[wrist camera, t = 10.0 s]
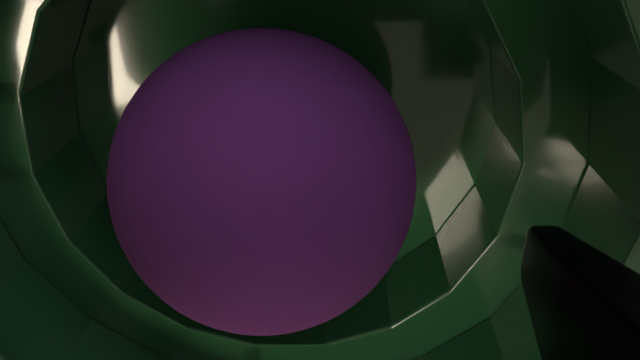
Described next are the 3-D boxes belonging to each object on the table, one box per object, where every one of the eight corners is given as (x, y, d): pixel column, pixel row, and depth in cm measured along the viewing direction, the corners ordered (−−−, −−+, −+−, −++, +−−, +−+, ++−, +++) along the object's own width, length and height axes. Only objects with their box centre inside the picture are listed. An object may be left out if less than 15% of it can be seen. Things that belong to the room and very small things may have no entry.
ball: (396, 220, 15) (429, 407, 9) (183, 224, 15) (99, 408, 10) (404, -6, 12) (457, 81, 6) (139, 5, 12) (-19, 97, 7)
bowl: (523, 312, 17) (593, 479, 12) (91, 314, 18) (-2, 471, 13) (628, -240, 10) (883, -356, 5) (-84, -194, 11) (-418, -257, 6)
